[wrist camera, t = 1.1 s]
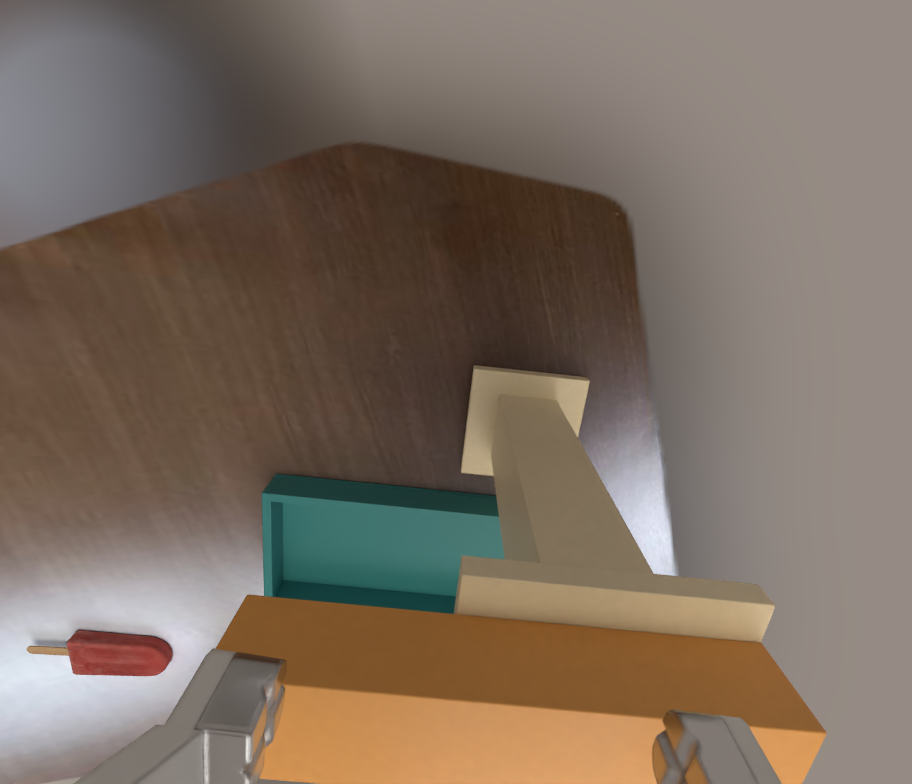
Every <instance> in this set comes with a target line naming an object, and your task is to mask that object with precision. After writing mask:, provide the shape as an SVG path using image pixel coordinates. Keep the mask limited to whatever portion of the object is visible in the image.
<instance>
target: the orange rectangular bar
mask: <svg viewBox="0 0 912 784" xmlns="http://www.w3.org/2000/svg"><path fill="white" fill-rule="evenodd" d="M216 649H219V650H226V651H233V652H241V653H247V654H253V655H259V656H266V657H272V658H278V659H284V660H287V667H286V675H285V677H284V680H283V682H282V685H283V686H284V687H285V699H284V705H283V710H282V714H281V718H280V721H279V725H278V728H277V731H276V734H275V737H274V739H273V742H272V743H270V744H269V745H268V746H267V747H266V748H265V758H264V767H263V770H262V772H261V775H260V778H259V779H271V780H283V781H294V782H306V783H318V784H657V782H656V779H655V776H654V771H653V766H652V746H653V744H654V741H655V738H656V736H657V735H658V734H660V733H661V732H663V731H664V730H666V729H665V726H664V724H663V719H664V716H665V714H666V712H668V711H669V710H671V709H676V710H684V711H693V712H702V713H711V714H715V715H722V716H730V717H738V718H742V719H743V720H744V721H745V722H746V723H747V724H748V726H749V728H750V729H751V731H752V733H753V735H754V736H755V738H756V740H757V742H758V743H759V745H760V747H761V748H762V750H763V752H764V754H765V755H766V757H767V759H768V761H769V762H770V764H771V766H772V767H773V769H774V771H775V773H776V774H777V776H778V778H779V780H780V781H781V783H782V784H802V783H803V781H804V779H805V777H806V775H807V773H808V771H809V769H810V767H811V765H812V763H813V761H814V758H815V756H816V754H817V752H818V750H819V748H820V746H821V744H822V742H823V740H824V738H825V736H826V731H825V730H824V729H823V727H822V726H821V724H820V723H819V722H818V720H817V719H816V718H815V716H814V715H813V713H812V712H811V711H810V709H809V708H808V706H807V705H806V704H805V702H804V701H803V700H802V698H801V697H800V695H799V694H798V693H797V691H796V690H795V689H794V687H793V686H792V684H791V683H790V682H789V680H788V679H787V678H786V676H785V675H784V673H783V672H782V671H781V670H780V668H779V666H778V665H777V664H776V662H775V661H774V660H773V658H772V657H771V656H770V654H769V653H768V651H767V650H766V649H765V647H764V646H763V644H762V643H756V642H746V641H735V640H724V639H714V638H703V637H693V636H682V635H671V634H661V633H650V632H639V631H629V630H618V629H608V628H597V627H586V626H576V625H565V624H555V623H544V622H533V621H523V620H512V619H502V618H491V617H480V616H470V615H459V614H448V613H438V612H427V611H417V610H406V609H395V608H385V607H374V606H364V605H353V604H342V603H332V602H321V601H311V600H300V599H289V598H279V597H268V596H257V595H247V596H246V597H245V599H244V601H243V603H242V604H241V606H240V608H239V610H238V611H237V613H236V615H235V616H234V618H233V620H232V622H231V623H230V625H229V627H228V628H227V630H226V632H225V634H224V635H223V637H222V639H221V640H220V642H219V644H218V646H217V647H216Z"/></svg>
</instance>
